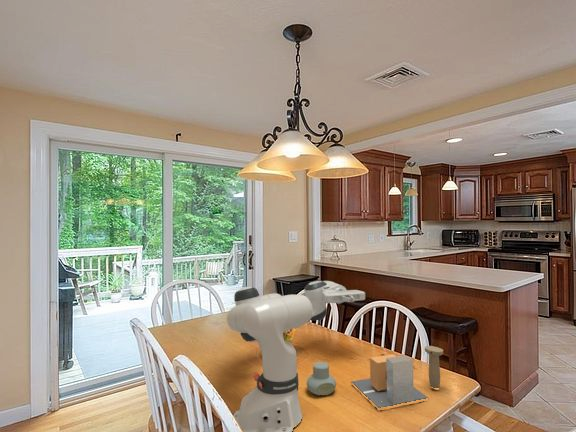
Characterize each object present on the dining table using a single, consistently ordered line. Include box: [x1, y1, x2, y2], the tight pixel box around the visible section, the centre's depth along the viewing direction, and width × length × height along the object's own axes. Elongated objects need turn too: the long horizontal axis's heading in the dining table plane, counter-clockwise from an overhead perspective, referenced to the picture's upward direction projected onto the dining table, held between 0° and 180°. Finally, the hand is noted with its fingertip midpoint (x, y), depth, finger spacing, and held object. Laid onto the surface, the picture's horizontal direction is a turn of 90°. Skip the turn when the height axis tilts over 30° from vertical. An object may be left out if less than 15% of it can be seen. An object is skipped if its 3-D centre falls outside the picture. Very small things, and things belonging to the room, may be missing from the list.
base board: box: [350, 378, 429, 408], centre depth 121 cm, size 20×19×1 cm
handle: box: [424, 345, 444, 388], centre depth 123 cm, size 5×6×15 cm
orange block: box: [369, 353, 398, 391], centre depth 123 cm, size 10×5×10 cm, turn 107°
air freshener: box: [306, 361, 337, 396], centre depth 123 cm, size 11×8×10 cm
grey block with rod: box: [386, 355, 415, 405], centre depth 120 cm, size 8×16×14 cm, turn 17°
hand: (351, 300), depth 144 cm, fingers closed
